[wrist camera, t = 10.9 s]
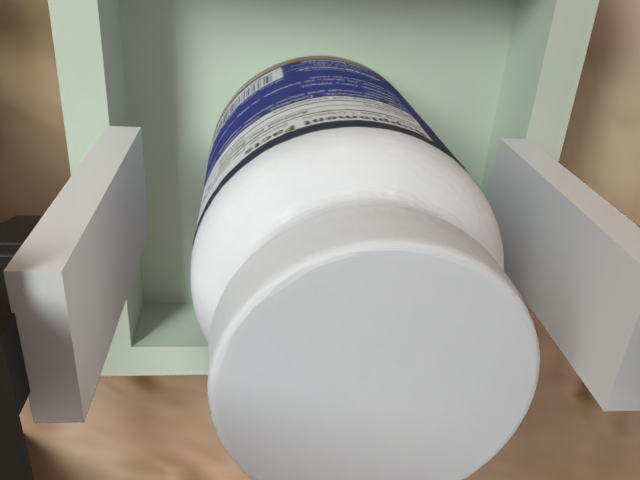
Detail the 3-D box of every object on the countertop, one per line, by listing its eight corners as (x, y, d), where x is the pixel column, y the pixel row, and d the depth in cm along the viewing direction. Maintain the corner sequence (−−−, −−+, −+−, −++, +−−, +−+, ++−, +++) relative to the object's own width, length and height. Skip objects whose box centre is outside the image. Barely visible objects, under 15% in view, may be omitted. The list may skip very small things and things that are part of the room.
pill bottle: (408, 240, 19) (542, 524, 10) (219, 248, 18) (186, 553, 10) (423, 46, 16) (624, 200, 7) (202, 49, 16) (134, 218, 7)
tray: (73, -108, 14) (32, -113, 12) (557, -73, 16) (617, -71, 13) (118, 315, 20) (97, 375, 17) (474, 314, 21) (505, 371, 19)
